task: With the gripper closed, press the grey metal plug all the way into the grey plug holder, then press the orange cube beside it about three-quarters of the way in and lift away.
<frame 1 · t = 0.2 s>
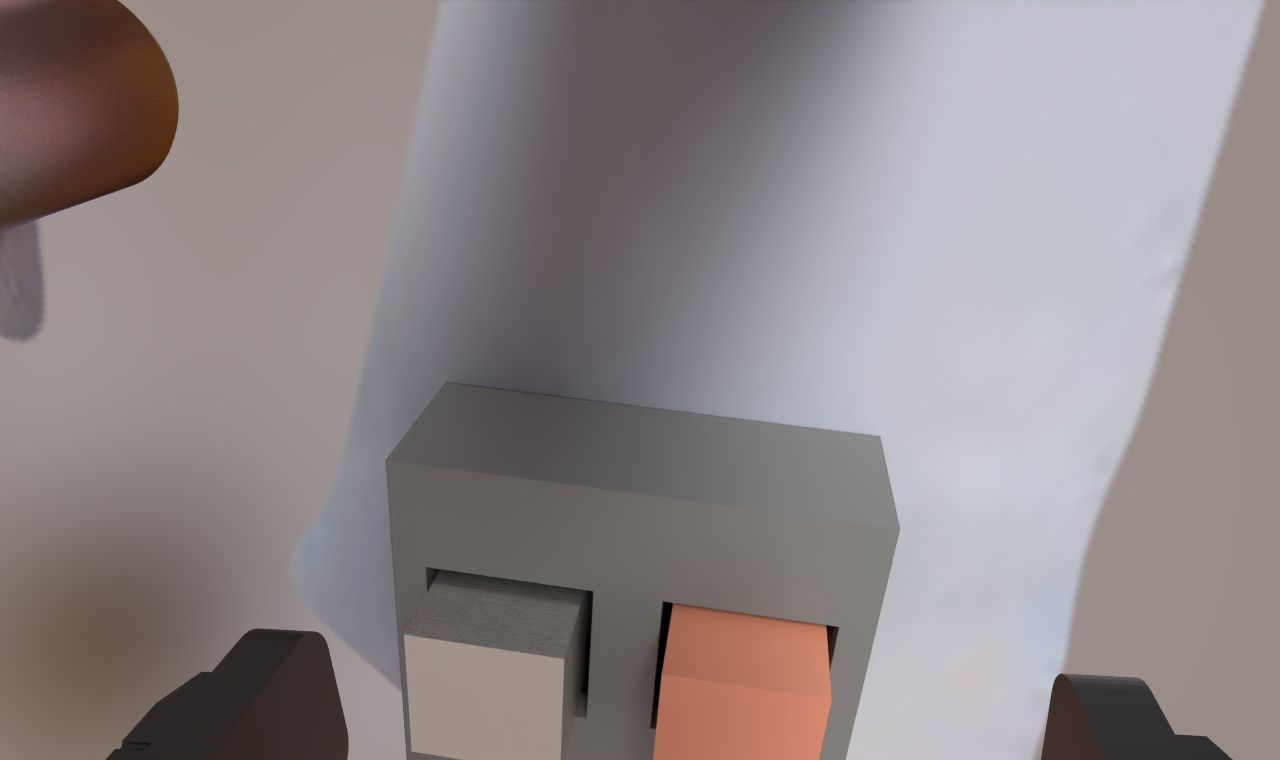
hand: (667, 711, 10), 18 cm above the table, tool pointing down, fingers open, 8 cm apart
grey plug holder: (645, 560, 31), on the table
orange cube: (739, 686, 26), point 5 cm above the table, slide at 0.0 cm
beverage can: (100, 83, 26), on the table
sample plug: (506, 650, 27), point 5 cm above the table, slide at 0.0 cm
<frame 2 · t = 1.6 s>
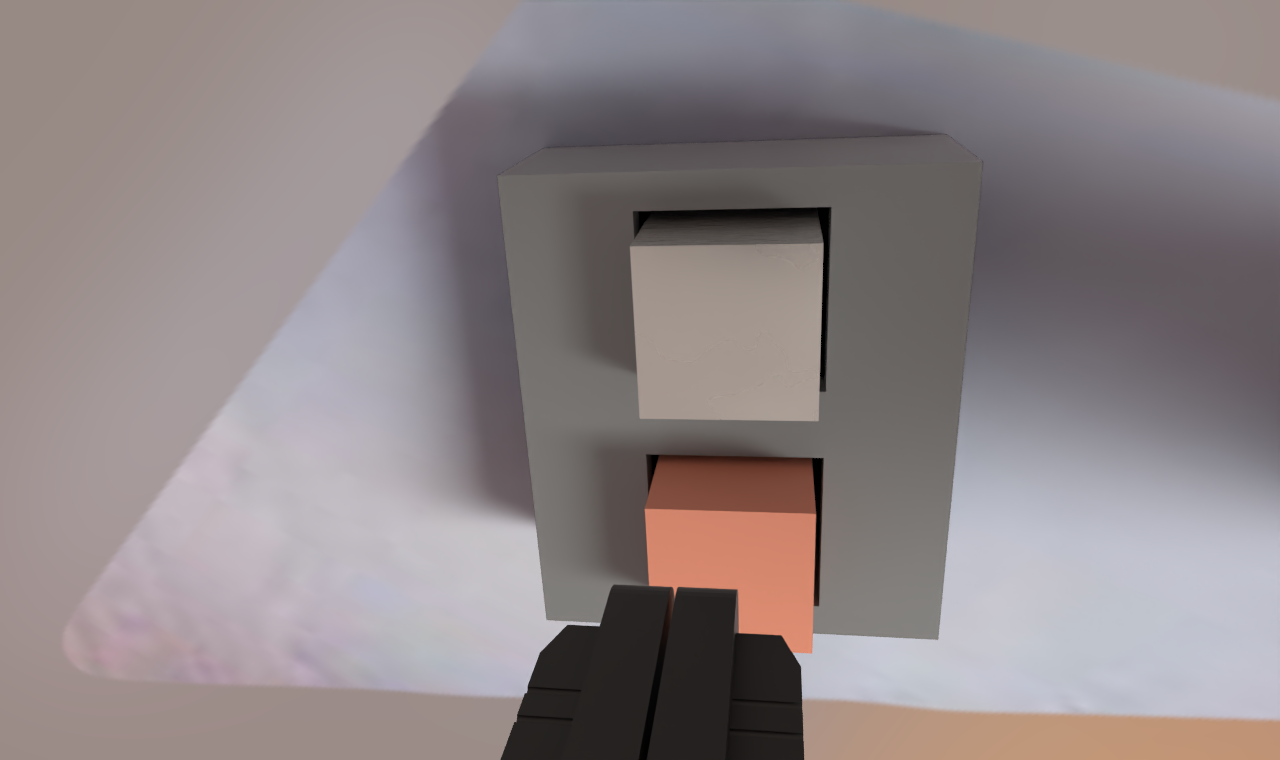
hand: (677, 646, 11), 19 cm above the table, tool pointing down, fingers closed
grey plug holder: (740, 359, 29), on the table
orange cube: (734, 536, 26), point 5 cm above the table, slide at 0.0 cm
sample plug: (731, 306, 23), point 5 cm above the table, slide at 0.0 cm
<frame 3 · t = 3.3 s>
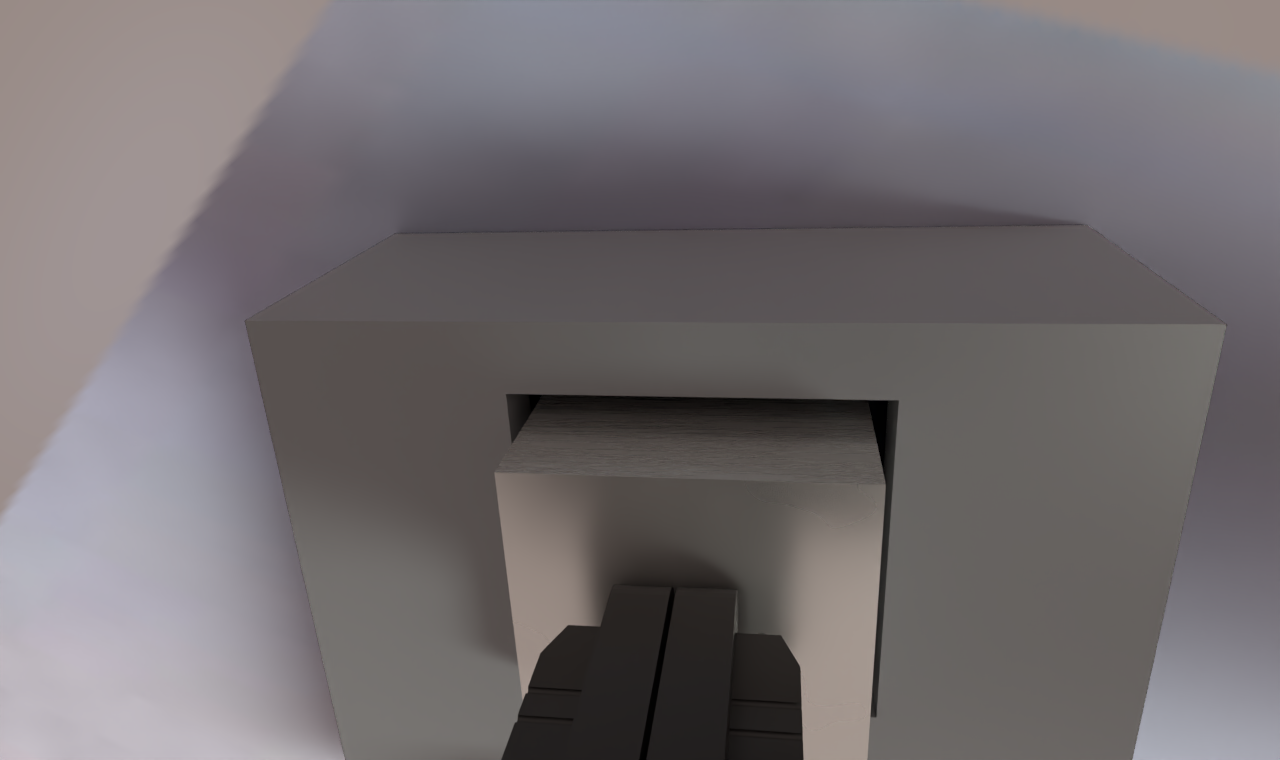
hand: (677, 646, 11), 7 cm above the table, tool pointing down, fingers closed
grey plug holder: (724, 567, 18), on the table
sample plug: (703, 536, 13), point 4 cm above the table, slide at 0.9 cm, touching gripper
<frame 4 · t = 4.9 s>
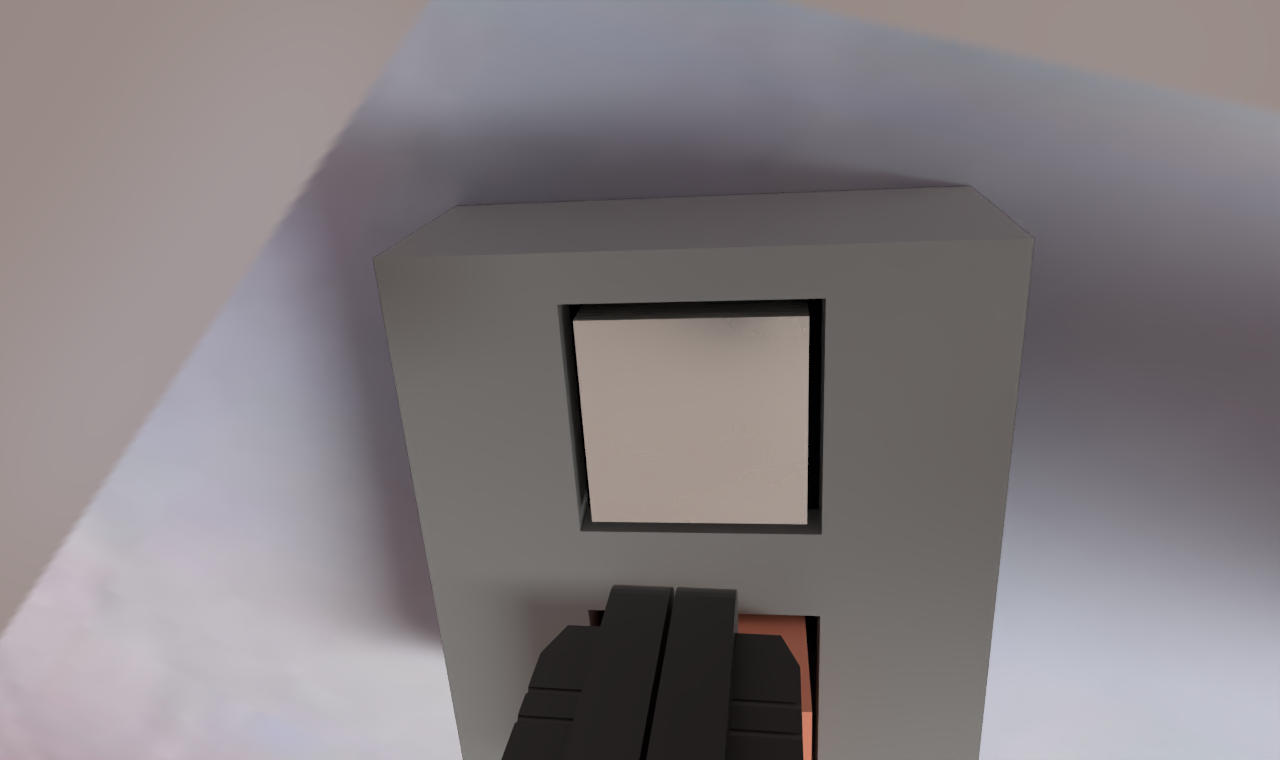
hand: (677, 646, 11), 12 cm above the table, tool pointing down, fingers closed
grey plug holder: (712, 463, 23), on the table
orange cube: (705, 712, 20), point 5 cm above the table, slide at 0.0 cm
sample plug: (700, 381, 19), point 3 cm above the table, slide at 2.4 cm
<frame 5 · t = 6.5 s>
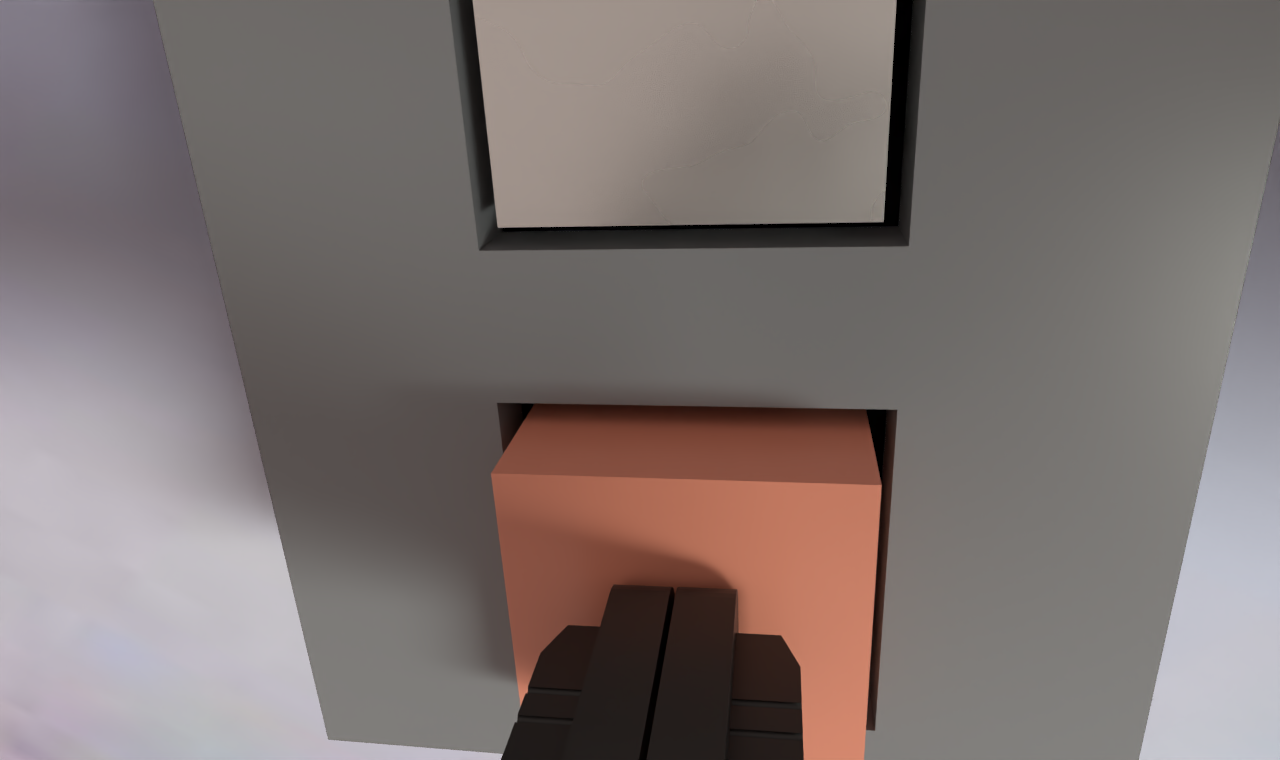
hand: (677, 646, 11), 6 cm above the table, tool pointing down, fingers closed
grey plug holder: (716, 233, 15), on the table
orange cube: (700, 537, 13), point 4 cm above the table, slide at 1.2 cm, touching gripper
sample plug: (697, 14, 11), point 3 cm above the table, slide at 2.4 cm
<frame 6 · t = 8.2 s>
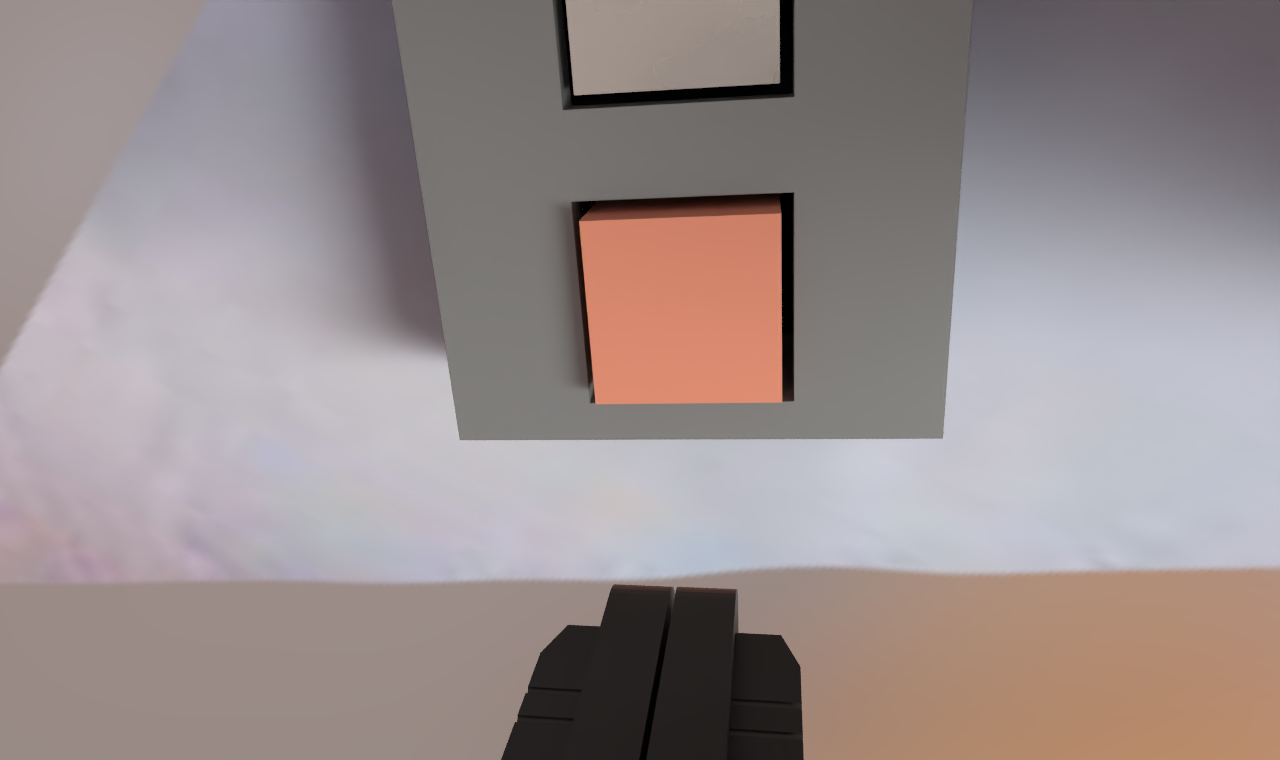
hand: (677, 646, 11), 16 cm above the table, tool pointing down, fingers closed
grey plug holder: (694, 125, 24), on the table
orange cube: (690, 286, 22), point 3 cm above the table, slide at 1.8 cm
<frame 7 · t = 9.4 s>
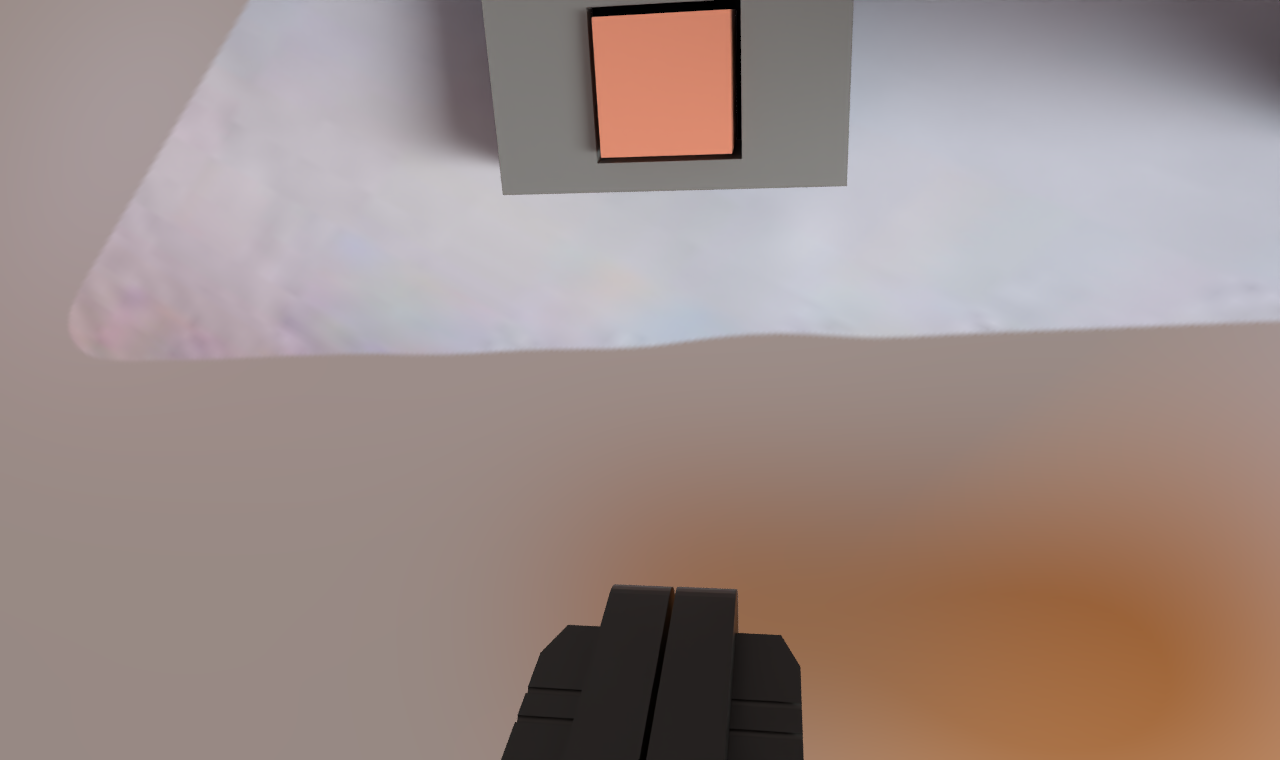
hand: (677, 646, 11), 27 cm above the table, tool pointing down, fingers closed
orange cube: (670, 81, 31), point 3 cm above the table, slide at 1.8 cm
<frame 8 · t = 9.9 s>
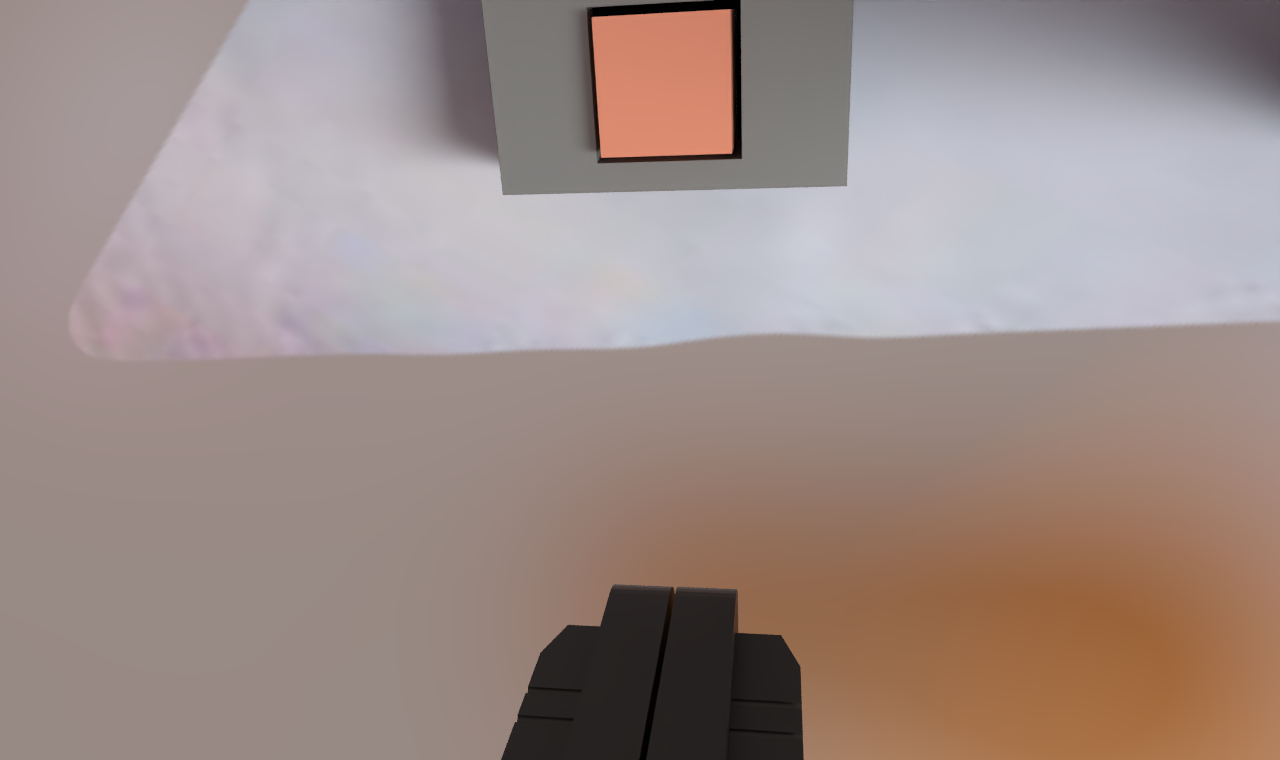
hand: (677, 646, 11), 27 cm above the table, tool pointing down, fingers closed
orange cube: (670, 81, 31), point 3 cm above the table, slide at 1.8 cm
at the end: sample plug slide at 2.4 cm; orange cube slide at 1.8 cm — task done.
